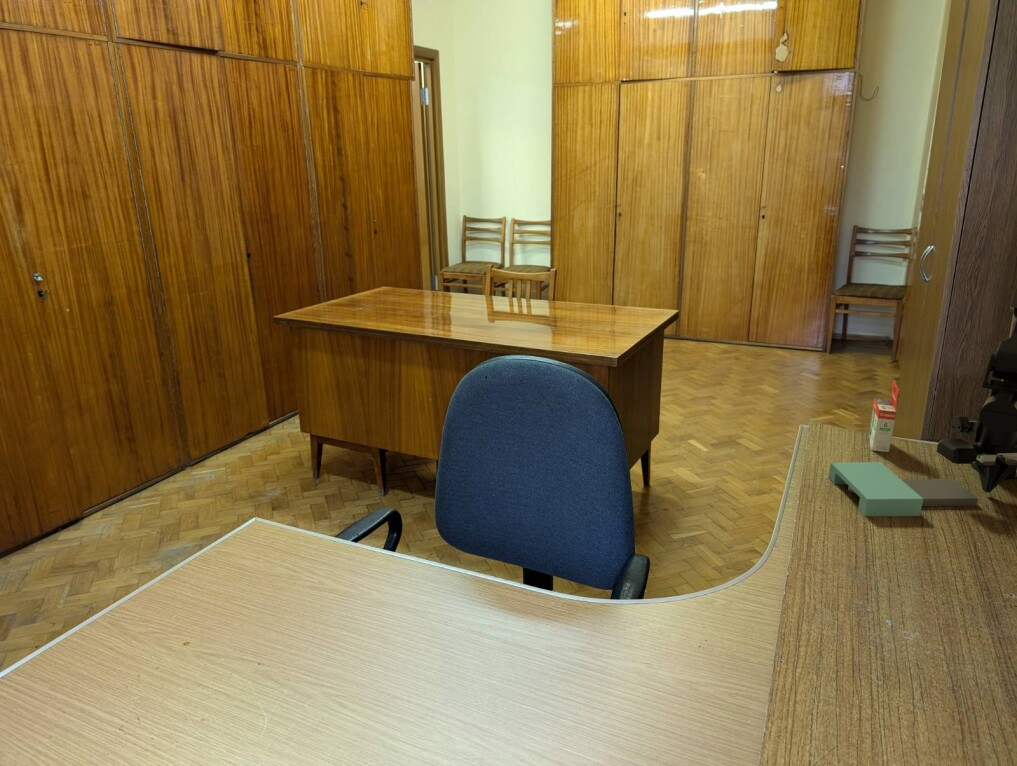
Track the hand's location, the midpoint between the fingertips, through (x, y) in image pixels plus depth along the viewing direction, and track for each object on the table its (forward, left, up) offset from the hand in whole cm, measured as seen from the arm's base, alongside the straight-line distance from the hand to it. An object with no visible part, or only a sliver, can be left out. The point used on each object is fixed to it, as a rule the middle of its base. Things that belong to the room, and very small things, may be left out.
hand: (986, 491), depth 131 cm
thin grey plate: (+10, 0, -1) cm, 10 cm away
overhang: (+22, 0, -1) cm, 22 cm away
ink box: (+9, -24, -1) cm, 26 cm away
